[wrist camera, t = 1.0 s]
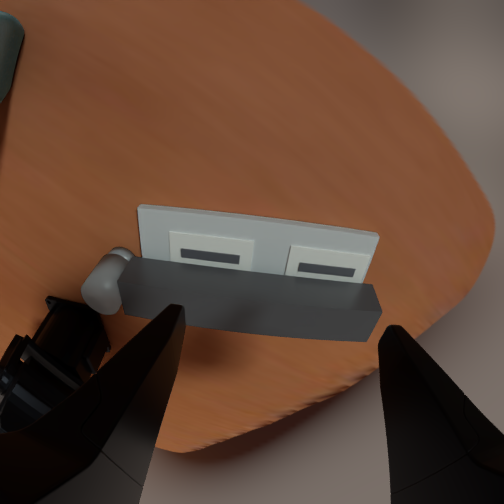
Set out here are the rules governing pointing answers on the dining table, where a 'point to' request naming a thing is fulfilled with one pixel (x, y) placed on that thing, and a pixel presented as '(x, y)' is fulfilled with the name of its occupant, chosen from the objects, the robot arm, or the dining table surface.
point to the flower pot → (8, 50)
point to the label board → (253, 243)
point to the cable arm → (234, 298)
